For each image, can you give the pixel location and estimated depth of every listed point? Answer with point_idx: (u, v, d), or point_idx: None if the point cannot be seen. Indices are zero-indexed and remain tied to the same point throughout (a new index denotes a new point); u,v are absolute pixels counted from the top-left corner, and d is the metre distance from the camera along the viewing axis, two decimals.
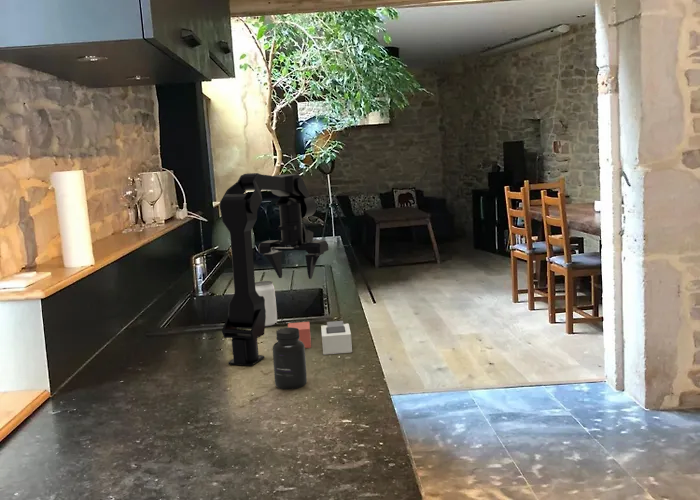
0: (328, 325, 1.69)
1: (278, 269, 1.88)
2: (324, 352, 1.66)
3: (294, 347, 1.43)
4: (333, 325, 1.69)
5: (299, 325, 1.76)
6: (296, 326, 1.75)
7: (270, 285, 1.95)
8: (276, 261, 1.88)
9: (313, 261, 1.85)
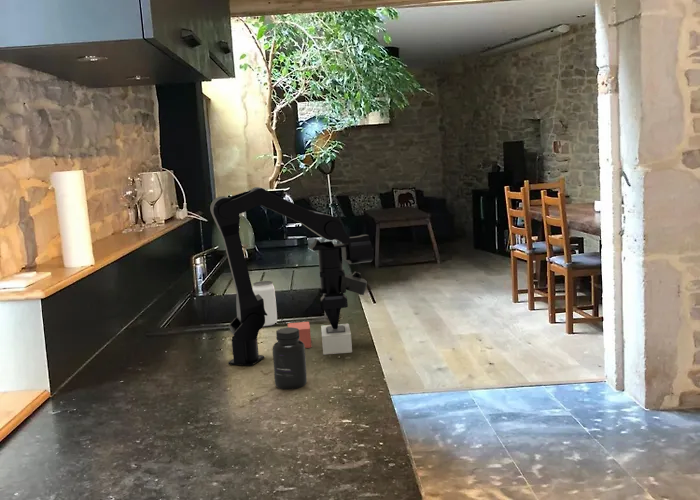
0: (328, 330, 1.69)
1: None
2: (324, 352, 1.66)
3: (294, 347, 1.43)
4: (333, 330, 1.69)
5: (299, 325, 1.76)
6: (296, 326, 1.75)
7: (270, 285, 1.95)
8: None
9: (334, 311, 1.68)
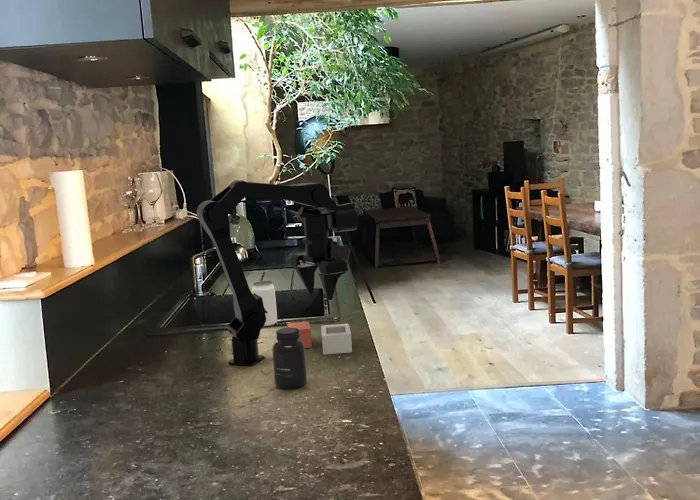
0: (328, 331, 1.69)
1: (307, 284, 1.74)
2: (324, 352, 1.66)
3: (294, 347, 1.43)
4: (333, 331, 1.69)
5: (299, 325, 1.76)
6: (296, 326, 1.75)
7: (270, 285, 1.95)
8: (305, 276, 1.73)
9: (332, 281, 1.65)
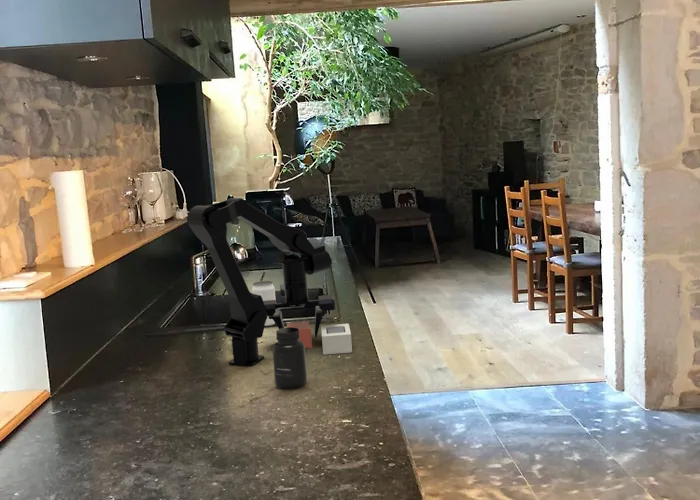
0: (328, 331, 1.69)
1: None
2: (324, 352, 1.66)
3: (294, 347, 1.43)
4: (333, 331, 1.69)
5: (299, 325, 1.76)
6: (296, 326, 1.75)
7: (270, 285, 1.95)
8: (282, 322, 1.74)
9: None
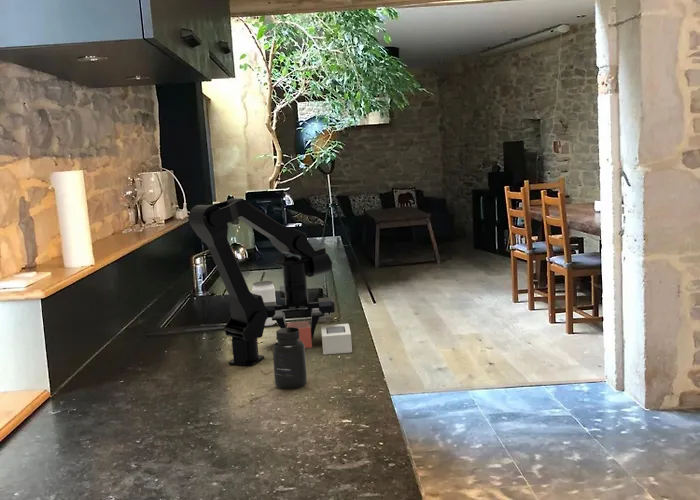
0: (328, 331, 1.69)
1: None
2: (324, 352, 1.66)
3: (294, 347, 1.43)
4: (333, 331, 1.69)
5: (299, 324, 1.76)
6: (296, 325, 1.75)
7: (270, 285, 1.95)
8: (285, 324, 1.74)
9: None
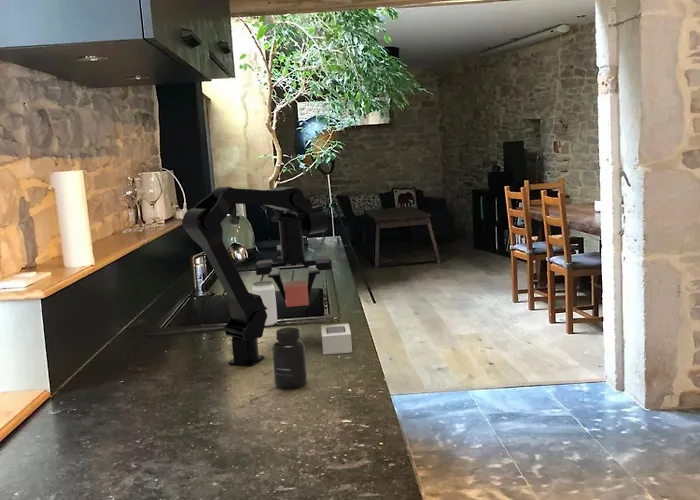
0: (328, 331, 1.69)
1: (283, 290, 1.73)
2: (324, 352, 1.66)
3: (294, 347, 1.43)
4: (333, 331, 1.69)
5: (296, 282, 1.74)
6: (293, 283, 1.73)
7: (270, 285, 1.95)
8: (282, 282, 1.72)
9: None
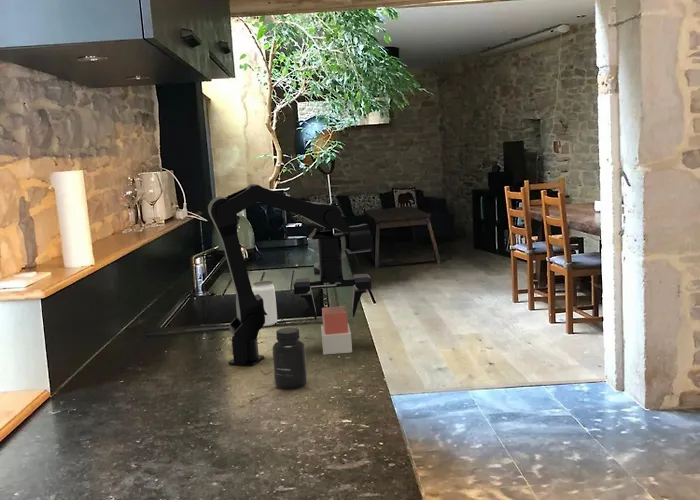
0: None
1: (315, 310, 1.69)
2: (324, 352, 1.66)
3: (294, 347, 1.43)
4: None
5: (334, 309, 1.70)
6: (331, 310, 1.69)
7: (270, 285, 1.95)
8: (313, 301, 1.68)
9: None
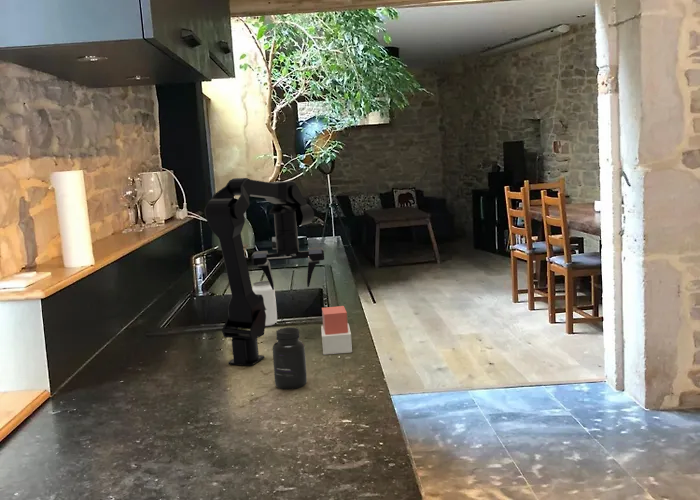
0: None
1: (272, 280, 1.81)
2: (324, 352, 1.66)
3: (294, 347, 1.43)
4: None
5: (334, 309, 1.70)
6: (331, 310, 1.69)
7: (270, 285, 1.95)
8: (270, 272, 1.80)
9: None
